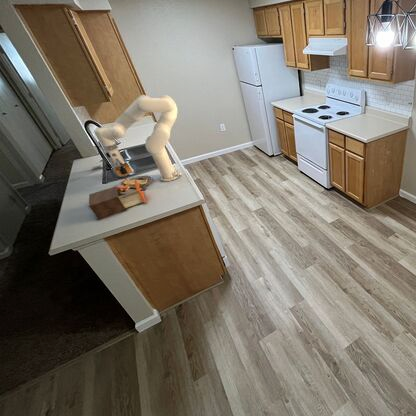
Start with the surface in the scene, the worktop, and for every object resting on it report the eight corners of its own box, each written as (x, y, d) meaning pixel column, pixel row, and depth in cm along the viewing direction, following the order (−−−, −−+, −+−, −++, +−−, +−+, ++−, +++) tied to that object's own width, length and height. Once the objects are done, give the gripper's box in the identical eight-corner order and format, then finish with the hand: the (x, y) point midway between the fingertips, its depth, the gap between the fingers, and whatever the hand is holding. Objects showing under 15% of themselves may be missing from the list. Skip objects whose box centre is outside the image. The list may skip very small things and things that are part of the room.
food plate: (105, 195, 180) (102, 191, 178) (130, 178, 199) (127, 174, 196) (137, 196, 176) (135, 191, 174) (159, 178, 195) (157, 174, 193)
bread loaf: (131, 170, 184) (127, 162, 181) (132, 172, 181) (128, 164, 178) (118, 174, 181) (113, 166, 177) (118, 176, 177) (114, 168, 174)
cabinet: (124, 199, 174) (116, 186, 168) (126, 210, 163) (117, 196, 157) (98, 207, 168) (89, 194, 162) (98, 219, 157) (88, 206, 151)
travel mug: (125, 177, 201) (111, 152, 189) (117, 177, 201) (102, 153, 189) (130, 173, 206) (117, 149, 194) (122, 173, 206) (108, 149, 194)
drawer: (147, 190, 180) (141, 178, 175) (151, 201, 169) (144, 188, 164) (119, 200, 173) (111, 187, 167) (121, 211, 162) (112, 198, 156)
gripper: (118, 149, 166) (132, 174, 176) (116, 141, 177) (129, 166, 188) (104, 152, 162) (119, 178, 173) (103, 145, 174) (117, 169, 184)
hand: (124, 171), depth 180 cm, fingers closed on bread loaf, 5 cm apart
